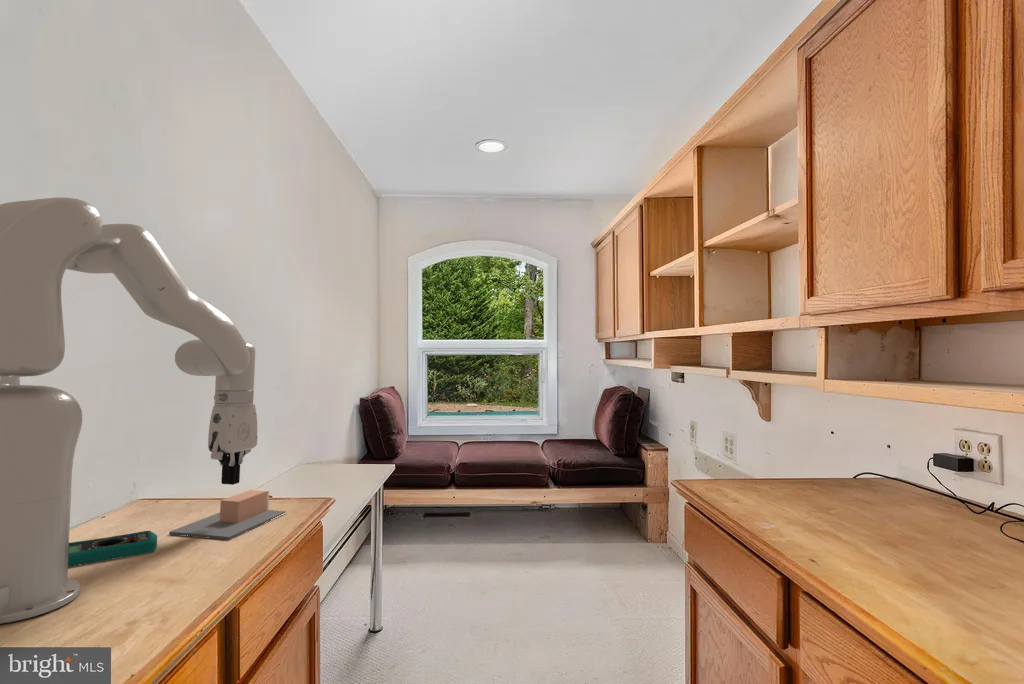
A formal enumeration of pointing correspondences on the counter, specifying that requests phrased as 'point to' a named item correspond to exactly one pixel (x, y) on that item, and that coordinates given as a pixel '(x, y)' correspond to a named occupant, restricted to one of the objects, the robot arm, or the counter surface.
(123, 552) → the digital multimeter
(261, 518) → the mat
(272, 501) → the counter surface
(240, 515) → the block
